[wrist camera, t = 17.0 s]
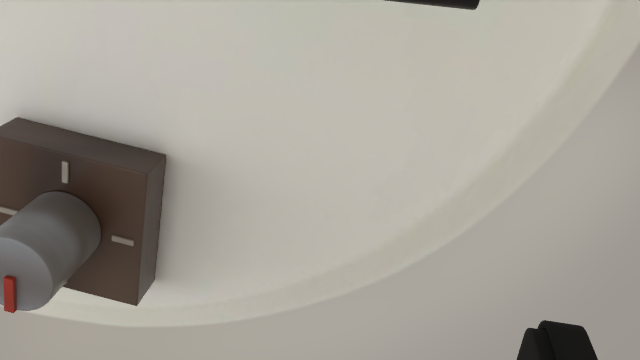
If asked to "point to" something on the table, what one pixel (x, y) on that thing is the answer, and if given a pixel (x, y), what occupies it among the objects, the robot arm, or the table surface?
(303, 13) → the table surface
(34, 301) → the dial
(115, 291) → the panel
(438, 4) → the lever
